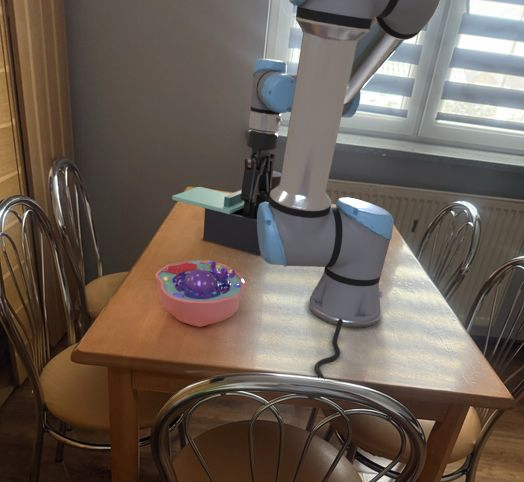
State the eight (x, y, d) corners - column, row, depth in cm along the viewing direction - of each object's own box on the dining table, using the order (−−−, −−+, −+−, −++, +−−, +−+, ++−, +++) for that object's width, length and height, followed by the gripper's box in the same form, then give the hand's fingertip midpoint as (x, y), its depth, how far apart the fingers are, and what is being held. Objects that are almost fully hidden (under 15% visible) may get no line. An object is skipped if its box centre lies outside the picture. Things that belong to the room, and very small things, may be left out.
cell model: (242, 299, 109) (247, 249, 104) (239, 347, 92) (245, 290, 86) (163, 291, 108) (164, 240, 102) (145, 337, 91) (145, 279, 85)
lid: (229, 214, 131) (230, 200, 129) (171, 199, 136) (172, 186, 134) (252, 203, 143) (254, 190, 141) (199, 190, 148) (199, 177, 146)
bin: (258, 255, 133) (262, 222, 129) (203, 239, 138) (204, 207, 134) (277, 241, 144) (282, 210, 140) (226, 227, 149) (228, 197, 145)
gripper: (260, 137, 116) (250, 234, 128) (292, 130, 132) (280, 216, 144) (231, 131, 118) (223, 227, 130) (265, 125, 134) (256, 211, 146)
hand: (253, 221), depth 137 cm, fingers open, 7 cm apart
